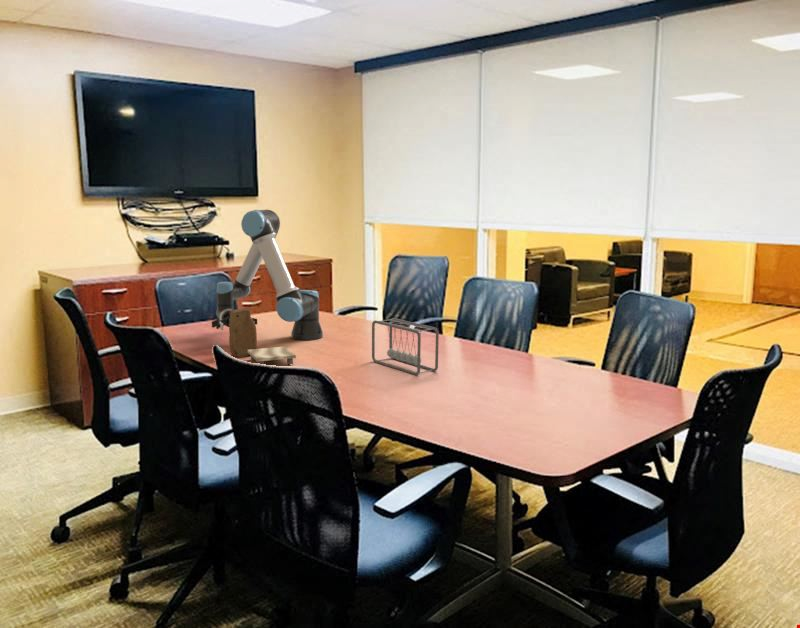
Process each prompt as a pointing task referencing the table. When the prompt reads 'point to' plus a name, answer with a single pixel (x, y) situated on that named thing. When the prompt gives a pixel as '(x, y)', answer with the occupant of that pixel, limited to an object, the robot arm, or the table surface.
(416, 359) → the newton's cradle
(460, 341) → the table surface
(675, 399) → the table surface
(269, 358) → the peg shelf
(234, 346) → the block
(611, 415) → the table surface
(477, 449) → the table surface
